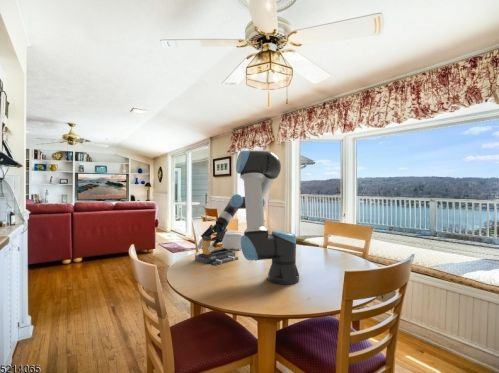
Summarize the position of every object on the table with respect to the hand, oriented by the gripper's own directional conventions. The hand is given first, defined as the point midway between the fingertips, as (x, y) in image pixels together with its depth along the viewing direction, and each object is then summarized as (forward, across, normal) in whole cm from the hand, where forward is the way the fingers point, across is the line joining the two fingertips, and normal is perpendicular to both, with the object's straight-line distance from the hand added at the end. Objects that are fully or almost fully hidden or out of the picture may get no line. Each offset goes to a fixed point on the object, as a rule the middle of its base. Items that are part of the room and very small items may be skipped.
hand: (203, 249), depth 165 cm
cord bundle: (-1, -8, -12) cm, 15 cm away
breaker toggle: (+1, 0, -4) cm, 5 cm away
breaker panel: (-1, 0, -12) cm, 12 cm away
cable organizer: (-21, +12, -32) cm, 40 cm away
